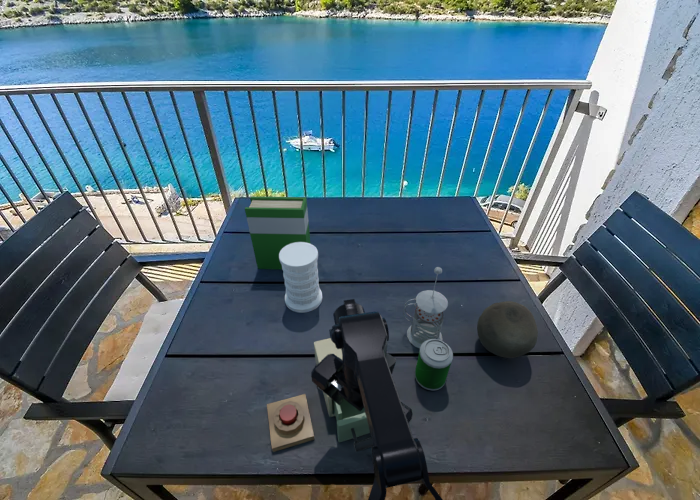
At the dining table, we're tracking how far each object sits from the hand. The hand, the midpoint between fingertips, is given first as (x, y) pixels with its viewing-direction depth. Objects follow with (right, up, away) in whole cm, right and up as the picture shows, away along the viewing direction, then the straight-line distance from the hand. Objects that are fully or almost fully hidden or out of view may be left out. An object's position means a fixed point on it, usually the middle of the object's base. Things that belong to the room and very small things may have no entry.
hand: (358, 417), depth 67 cm
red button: (-15, -4, +9) cm, 18 cm away
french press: (+18, +8, +31) cm, 37 cm away
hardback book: (-24, +28, +55) cm, 66 cm away
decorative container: (-16, +17, +41) cm, 48 cm away
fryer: (-2, 0, +19) cm, 19 cm away
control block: (-15, -7, +11) cm, 20 cm away
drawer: (0, -5, +12) cm, 13 cm away
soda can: (+18, 0, +20) cm, 27 cm away
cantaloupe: (+38, +6, +27) cm, 47 cm away
